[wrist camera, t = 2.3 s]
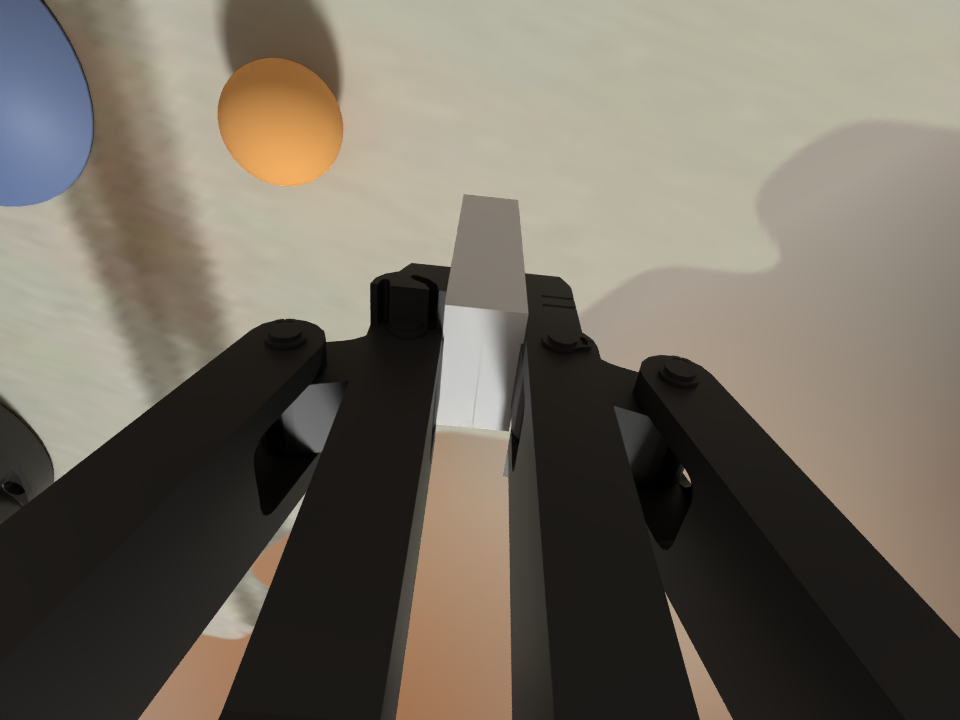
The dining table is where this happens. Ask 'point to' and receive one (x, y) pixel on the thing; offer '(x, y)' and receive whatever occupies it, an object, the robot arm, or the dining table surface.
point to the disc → (40, 106)
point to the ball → (280, 122)
